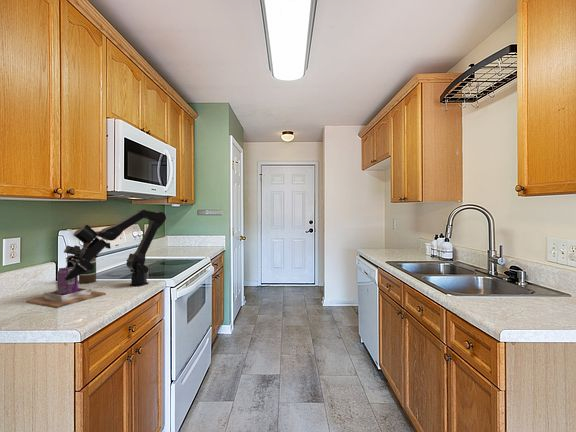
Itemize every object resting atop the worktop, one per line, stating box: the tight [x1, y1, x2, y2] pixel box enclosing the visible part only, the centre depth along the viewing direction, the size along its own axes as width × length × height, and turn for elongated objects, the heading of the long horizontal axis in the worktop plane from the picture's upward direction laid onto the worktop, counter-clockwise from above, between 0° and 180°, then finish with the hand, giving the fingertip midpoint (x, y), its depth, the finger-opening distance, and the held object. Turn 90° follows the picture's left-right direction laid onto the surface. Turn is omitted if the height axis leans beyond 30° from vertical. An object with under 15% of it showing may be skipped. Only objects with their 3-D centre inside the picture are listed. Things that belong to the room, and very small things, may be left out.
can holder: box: [25, 286, 107, 309], centre depth 130 cm, size 20×20×3 cm
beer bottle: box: [78, 242, 97, 285], centre depth 159 cm, size 8×8×24 cm
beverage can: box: [56, 267, 79, 295], centre depth 129 cm, size 7×7×12 cm
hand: (63, 278), depth 128 cm, fingers closed on beverage can, 7 cm apart
